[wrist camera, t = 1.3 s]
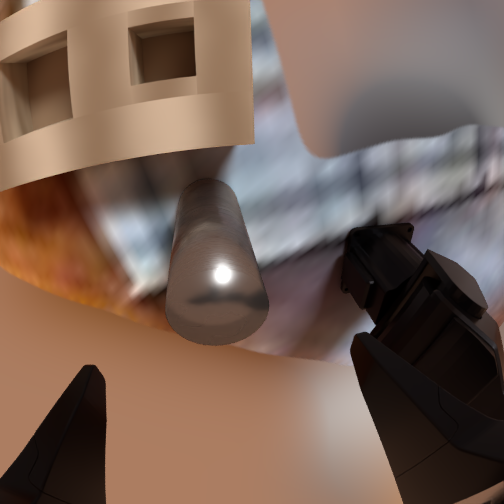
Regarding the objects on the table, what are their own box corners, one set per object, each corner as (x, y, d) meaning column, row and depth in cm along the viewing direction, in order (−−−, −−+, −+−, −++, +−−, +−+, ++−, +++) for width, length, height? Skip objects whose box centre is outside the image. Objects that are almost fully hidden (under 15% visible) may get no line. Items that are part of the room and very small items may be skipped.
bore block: (236, -16, 11) (248, -43, 8) (242, 130, 17) (254, 144, 13) (16, 39, 10) (-22, 36, 6) (30, 168, 15) (-4, 192, 11)
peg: (236, 176, 18) (269, 263, 10) (239, 230, 21) (268, 338, 12) (174, 182, 18) (154, 276, 10) (183, 236, 20) (176, 349, 12)
